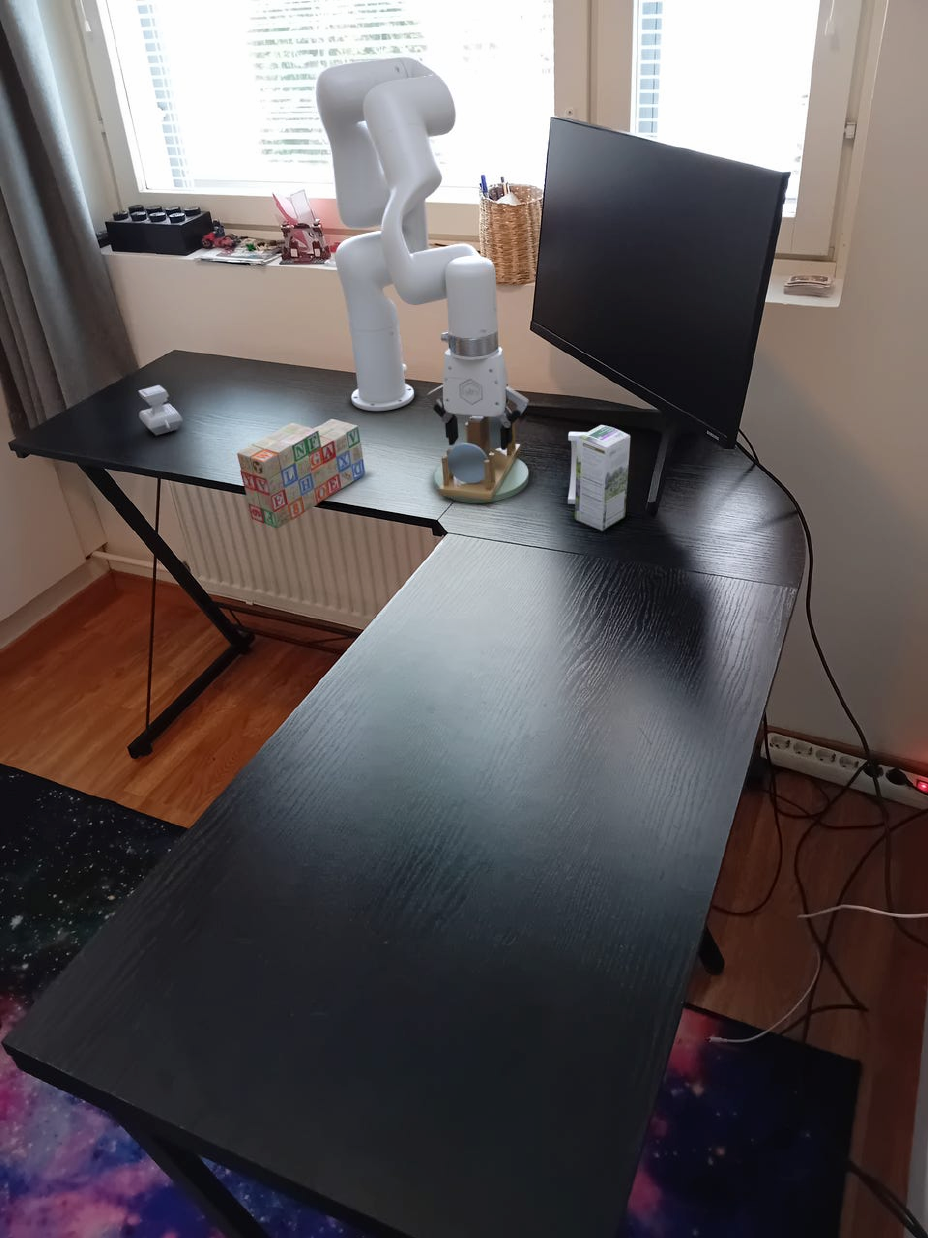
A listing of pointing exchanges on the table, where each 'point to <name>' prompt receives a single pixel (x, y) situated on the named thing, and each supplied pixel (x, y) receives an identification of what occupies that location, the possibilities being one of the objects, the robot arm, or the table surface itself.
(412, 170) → the robot arm
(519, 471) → the turntable
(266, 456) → the stack of blocks
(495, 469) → the plate rack
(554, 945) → the table surface
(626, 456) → the syrup box
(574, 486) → the white curved piece
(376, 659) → the table surface
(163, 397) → the stamp
